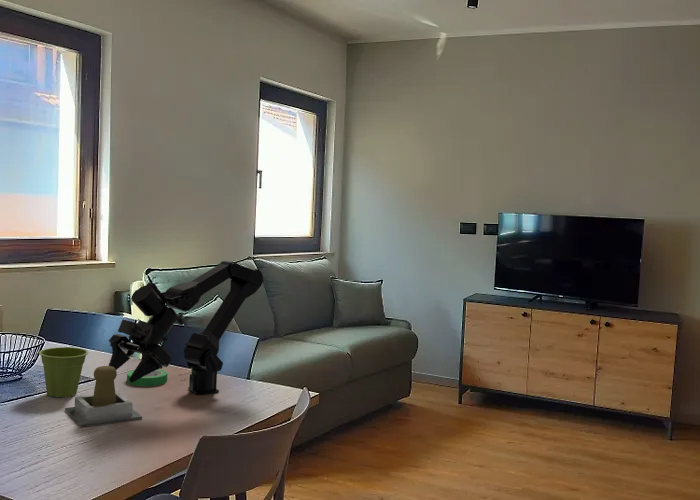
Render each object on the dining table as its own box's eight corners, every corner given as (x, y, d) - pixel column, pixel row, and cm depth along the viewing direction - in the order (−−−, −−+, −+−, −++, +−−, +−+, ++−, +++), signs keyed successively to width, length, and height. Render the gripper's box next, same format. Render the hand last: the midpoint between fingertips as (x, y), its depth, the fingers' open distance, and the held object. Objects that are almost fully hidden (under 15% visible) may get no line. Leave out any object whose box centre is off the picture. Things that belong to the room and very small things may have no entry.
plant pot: (56, 403, 173) (58, 359, 172) (27, 394, 179) (29, 351, 178) (96, 394, 183) (98, 352, 182) (67, 385, 189) (69, 344, 188)
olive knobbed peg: (100, 417, 162) (101, 371, 162) (85, 411, 166) (86, 366, 165) (122, 412, 167) (124, 367, 167) (107, 406, 171) (109, 362, 170)
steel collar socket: (122, 403, 176) (123, 389, 176) (142, 418, 165) (142, 404, 165) (64, 410, 168) (65, 395, 168) (81, 427, 157) (81, 411, 157)
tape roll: (119, 381, 198) (119, 371, 198) (152, 375, 206) (153, 366, 206) (140, 389, 191) (141, 380, 191) (174, 383, 199) (175, 374, 199)
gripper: (116, 302, 178) (75, 351, 170) (163, 312, 167) (122, 365, 159) (141, 329, 185) (103, 377, 177) (187, 340, 174) (150, 392, 166)
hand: (118, 377), depth 169 cm, fingers open, 9 cm apart
